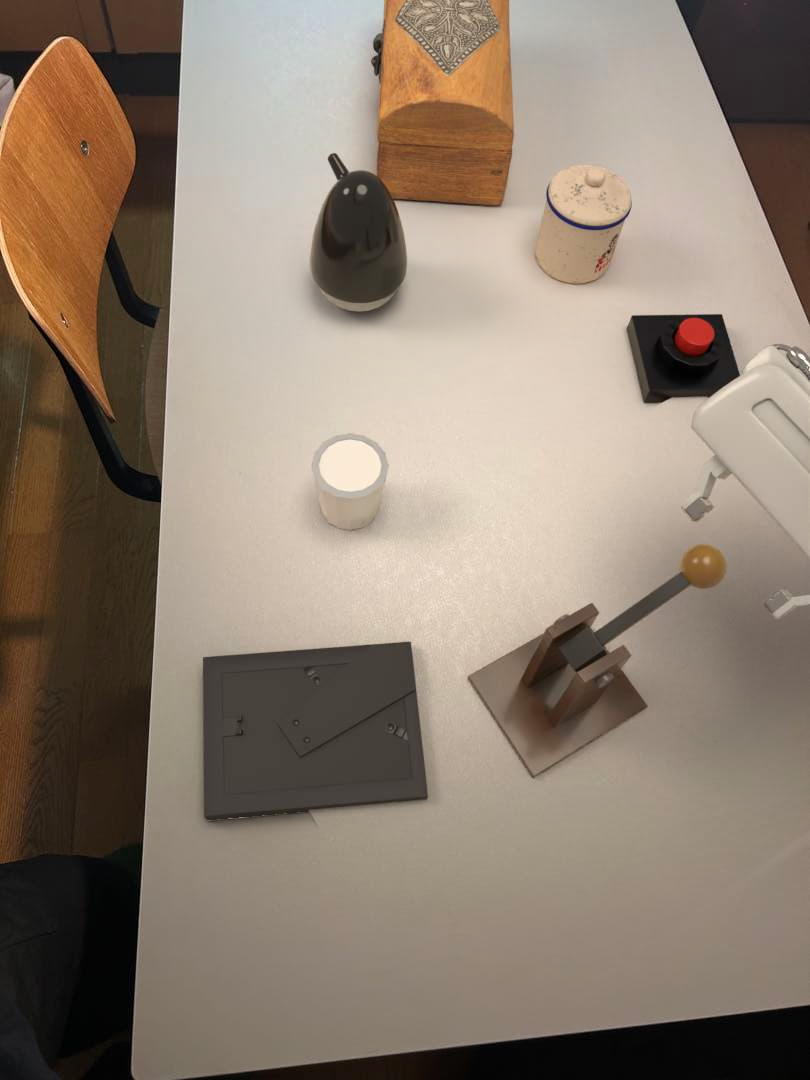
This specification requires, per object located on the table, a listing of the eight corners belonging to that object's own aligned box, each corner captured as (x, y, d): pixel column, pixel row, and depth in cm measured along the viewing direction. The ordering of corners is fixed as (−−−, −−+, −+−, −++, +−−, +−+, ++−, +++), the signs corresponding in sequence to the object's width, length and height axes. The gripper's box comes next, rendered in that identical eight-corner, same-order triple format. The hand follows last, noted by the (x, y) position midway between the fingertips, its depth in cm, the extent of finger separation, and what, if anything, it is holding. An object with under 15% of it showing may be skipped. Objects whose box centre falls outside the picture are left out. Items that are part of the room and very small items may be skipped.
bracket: (576, 619, 85) (612, 555, 74) (643, 711, 81) (691, 658, 70) (465, 681, 81) (485, 624, 70) (530, 781, 78) (562, 737, 66)
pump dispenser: (370, 242, 105) (374, 126, 92) (422, 302, 102) (435, 191, 88) (292, 277, 102) (285, 162, 89) (343, 340, 98) (343, 231, 85)
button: (704, 328, 97) (710, 317, 96) (712, 355, 96) (718, 344, 94) (670, 329, 97) (676, 317, 96) (678, 356, 95) (683, 345, 94)
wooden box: (375, 37, 123) (379, -74, 110) (500, 47, 123) (517, -62, 111) (362, 198, 108) (364, 92, 96) (503, 209, 109) (523, 104, 97)
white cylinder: (298, 504, 89) (295, 464, 83) (349, 461, 91) (349, 419, 85) (350, 549, 87) (350, 512, 81) (400, 504, 89) (404, 464, 83)
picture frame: (409, 649, 82) (205, 664, 81) (411, 639, 80) (202, 655, 79) (426, 801, 76) (206, 822, 75) (428, 795, 74) (202, 816, 73)
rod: (707, 541, 72) (707, 530, 69) (736, 575, 71) (736, 566, 68) (558, 646, 74) (551, 639, 71) (584, 681, 73) (578, 676, 69)
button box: (715, 327, 102) (728, 302, 99) (736, 401, 98) (751, 377, 94) (626, 328, 101) (636, 303, 98) (643, 403, 97) (655, 379, 93)
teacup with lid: (607, 293, 104) (636, 212, 93) (526, 278, 104) (547, 195, 94) (617, 218, 109) (645, 134, 99) (541, 204, 110) (561, 118, 100)
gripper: (772, 320, 65) (626, 456, 71) (997, 544, 57) (813, 676, 63) (792, 339, 70) (654, 464, 76) (1000, 546, 63) (830, 667, 68)
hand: (728, 562), depth 70 cm, fingers open, 8 cm apart
